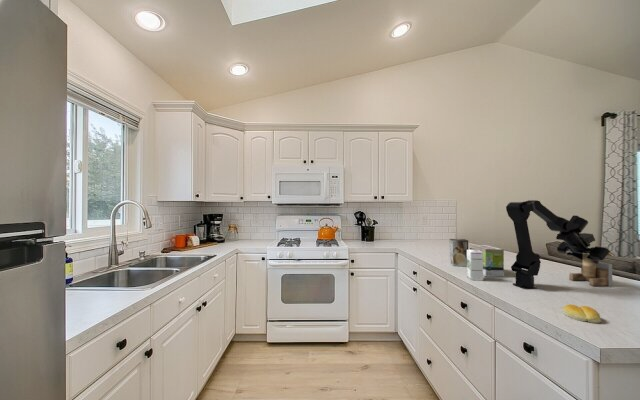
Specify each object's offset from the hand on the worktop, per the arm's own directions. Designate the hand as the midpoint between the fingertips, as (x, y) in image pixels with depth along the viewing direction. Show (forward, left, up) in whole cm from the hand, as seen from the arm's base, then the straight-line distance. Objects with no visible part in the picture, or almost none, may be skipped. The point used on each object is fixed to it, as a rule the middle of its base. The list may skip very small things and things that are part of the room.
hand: (591, 262), depth 123 cm
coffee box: (-41, +40, -10) cm, 58 cm away
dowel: (-2, 0, -7) cm, 7 cm away
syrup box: (-52, +13, -10) cm, 55 cm away
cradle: (-3, 0, -10) cm, 10 cm away
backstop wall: (+3, 0, -10) cm, 11 cm away
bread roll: (-48, -31, -10) cm, 58 cm away
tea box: (-38, +22, -10) cm, 45 cm away
